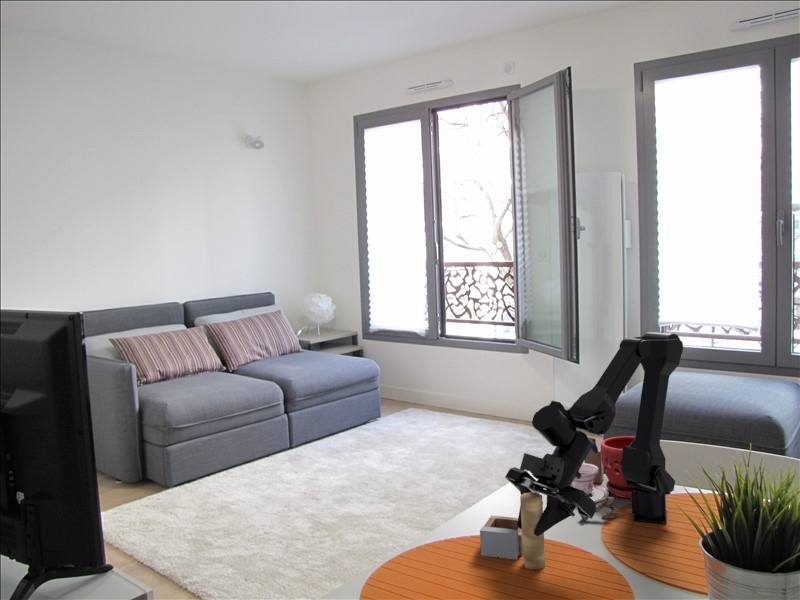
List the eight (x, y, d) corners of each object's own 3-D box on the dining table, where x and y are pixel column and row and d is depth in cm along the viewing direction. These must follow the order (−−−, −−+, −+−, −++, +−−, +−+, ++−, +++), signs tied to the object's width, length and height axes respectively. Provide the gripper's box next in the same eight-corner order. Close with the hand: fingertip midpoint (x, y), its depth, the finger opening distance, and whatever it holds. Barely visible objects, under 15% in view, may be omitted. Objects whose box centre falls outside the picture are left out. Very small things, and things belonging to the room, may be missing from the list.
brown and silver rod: (622, 513, 146) (613, 495, 146) (591, 533, 145) (582, 515, 145) (618, 510, 148) (609, 493, 147) (587, 529, 147) (578, 512, 146)
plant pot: (671, 489, 160) (669, 439, 159) (644, 506, 151) (643, 453, 150) (619, 478, 170) (617, 431, 169) (591, 494, 161) (589, 443, 160)
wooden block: (601, 483, 167) (600, 451, 166) (585, 482, 169) (583, 450, 168) (603, 478, 171) (602, 446, 170) (587, 477, 172) (586, 445, 172)
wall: (519, 555, 132) (518, 530, 131) (517, 559, 130) (515, 534, 129) (484, 551, 134) (482, 526, 134) (481, 555, 132) (479, 530, 132)
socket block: (530, 538, 139) (529, 519, 138) (521, 555, 131) (520, 535, 131) (492, 534, 142) (491, 515, 142) (481, 550, 134) (480, 530, 134)
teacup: (574, 482, 169) (573, 457, 169) (619, 492, 161) (618, 467, 160) (546, 496, 161) (545, 470, 161) (591, 508, 153) (590, 481, 152)
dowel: (547, 561, 128) (544, 493, 127) (542, 571, 125) (539, 501, 124) (525, 558, 130) (522, 491, 129) (521, 568, 126) (518, 499, 125)
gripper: (509, 427, 136) (469, 495, 130) (582, 446, 120) (539, 525, 115) (540, 457, 140) (502, 524, 135) (614, 480, 125) (574, 556, 120)
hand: (527, 531), depth 126 cm, fingers closed on dowel, 4 cm apart
